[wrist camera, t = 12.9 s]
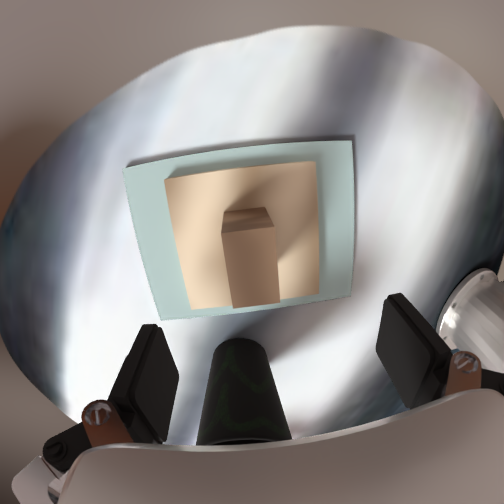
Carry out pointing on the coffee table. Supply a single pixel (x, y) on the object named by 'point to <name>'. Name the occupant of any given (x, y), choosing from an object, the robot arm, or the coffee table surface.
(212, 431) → the cup
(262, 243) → the lid
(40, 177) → the coffee table surface
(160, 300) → the mat
